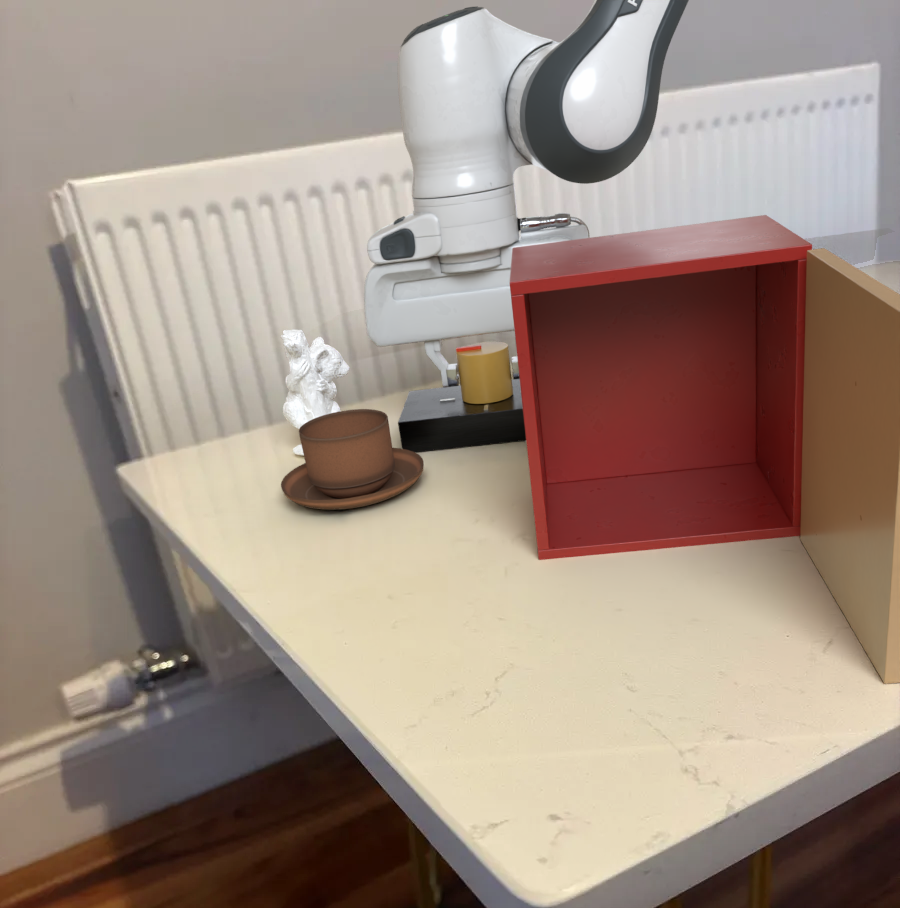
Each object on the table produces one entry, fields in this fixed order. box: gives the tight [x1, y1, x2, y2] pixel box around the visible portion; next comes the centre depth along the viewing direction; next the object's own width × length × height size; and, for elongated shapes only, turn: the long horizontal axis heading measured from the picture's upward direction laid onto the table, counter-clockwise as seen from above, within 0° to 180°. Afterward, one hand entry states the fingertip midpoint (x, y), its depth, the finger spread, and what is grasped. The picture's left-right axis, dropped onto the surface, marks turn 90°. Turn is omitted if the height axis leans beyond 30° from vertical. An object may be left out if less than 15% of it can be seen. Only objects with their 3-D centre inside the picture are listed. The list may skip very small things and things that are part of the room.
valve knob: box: [455, 340, 513, 404], centre depth 95 cm, size 5×5×5 cm
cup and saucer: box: [280, 408, 425, 511], centre depth 85 cm, size 12×12×6 cm
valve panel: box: [397, 378, 526, 453], centre depth 97 cm, size 12×10×3 cm
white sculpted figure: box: [280, 329, 351, 457], centre depth 95 cm, size 8×7×12 cm
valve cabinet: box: [510, 214, 813, 561], centre depth 70 cm, size 13×18×19 cm
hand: (486, 381), depth 95 cm, fingers open, 5 cm apart
